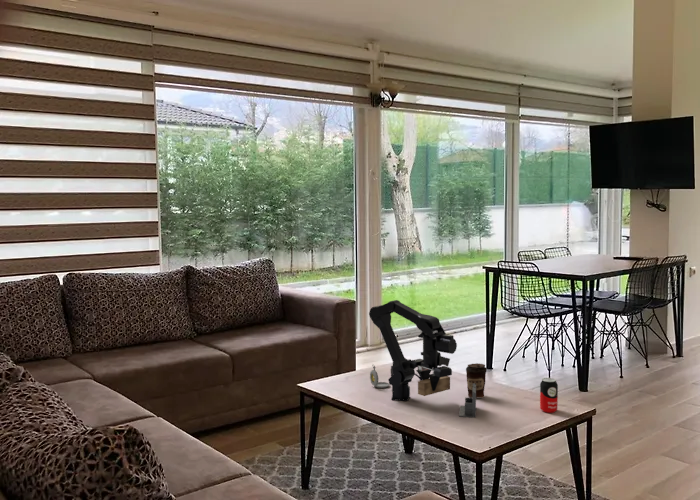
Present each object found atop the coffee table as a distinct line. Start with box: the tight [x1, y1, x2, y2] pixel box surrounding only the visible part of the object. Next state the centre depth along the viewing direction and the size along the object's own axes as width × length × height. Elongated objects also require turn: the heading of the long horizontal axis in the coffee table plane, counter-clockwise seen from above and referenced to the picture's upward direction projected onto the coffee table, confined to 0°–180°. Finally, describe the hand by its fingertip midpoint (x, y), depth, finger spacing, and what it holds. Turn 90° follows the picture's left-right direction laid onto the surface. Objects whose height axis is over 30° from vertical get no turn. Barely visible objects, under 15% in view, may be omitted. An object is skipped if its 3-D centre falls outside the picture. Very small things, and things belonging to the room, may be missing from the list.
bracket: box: [458, 383, 477, 418], centre depth 256 cm, size 6×12×9 cm, turn 169°
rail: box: [417, 376, 451, 397], centre depth 265 cm, size 14×4×5 cm, turn 128°
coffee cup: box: [465, 362, 488, 399], centre depth 275 cm, size 9×8×13 cm
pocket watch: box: [369, 364, 390, 389], centre depth 291 cm, size 8×8×10 cm
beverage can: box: [539, 377, 559, 414], centre depth 256 cm, size 6×6×12 cm
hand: (430, 389), depth 264 cm, fingers closed on rail, 4 cm apart
